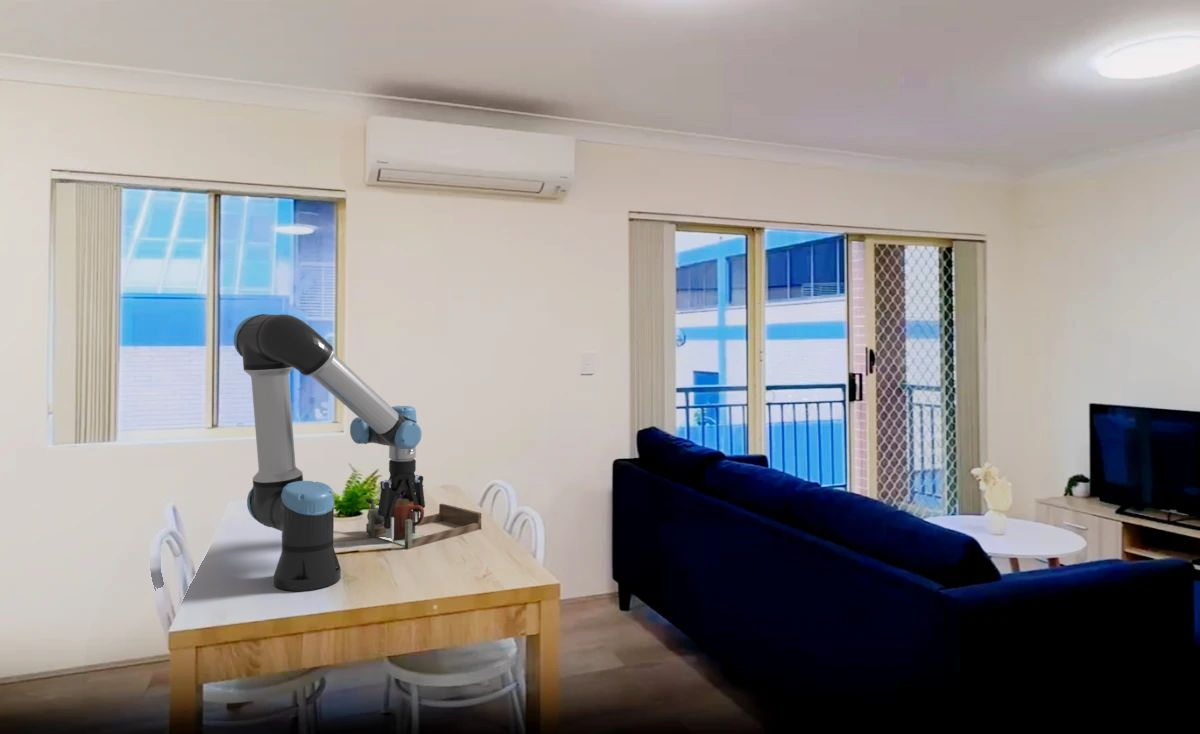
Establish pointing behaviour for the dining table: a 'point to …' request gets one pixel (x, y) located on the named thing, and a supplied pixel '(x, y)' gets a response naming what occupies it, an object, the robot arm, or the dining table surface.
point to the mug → (404, 516)
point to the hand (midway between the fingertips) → (401, 535)
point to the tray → (446, 513)
